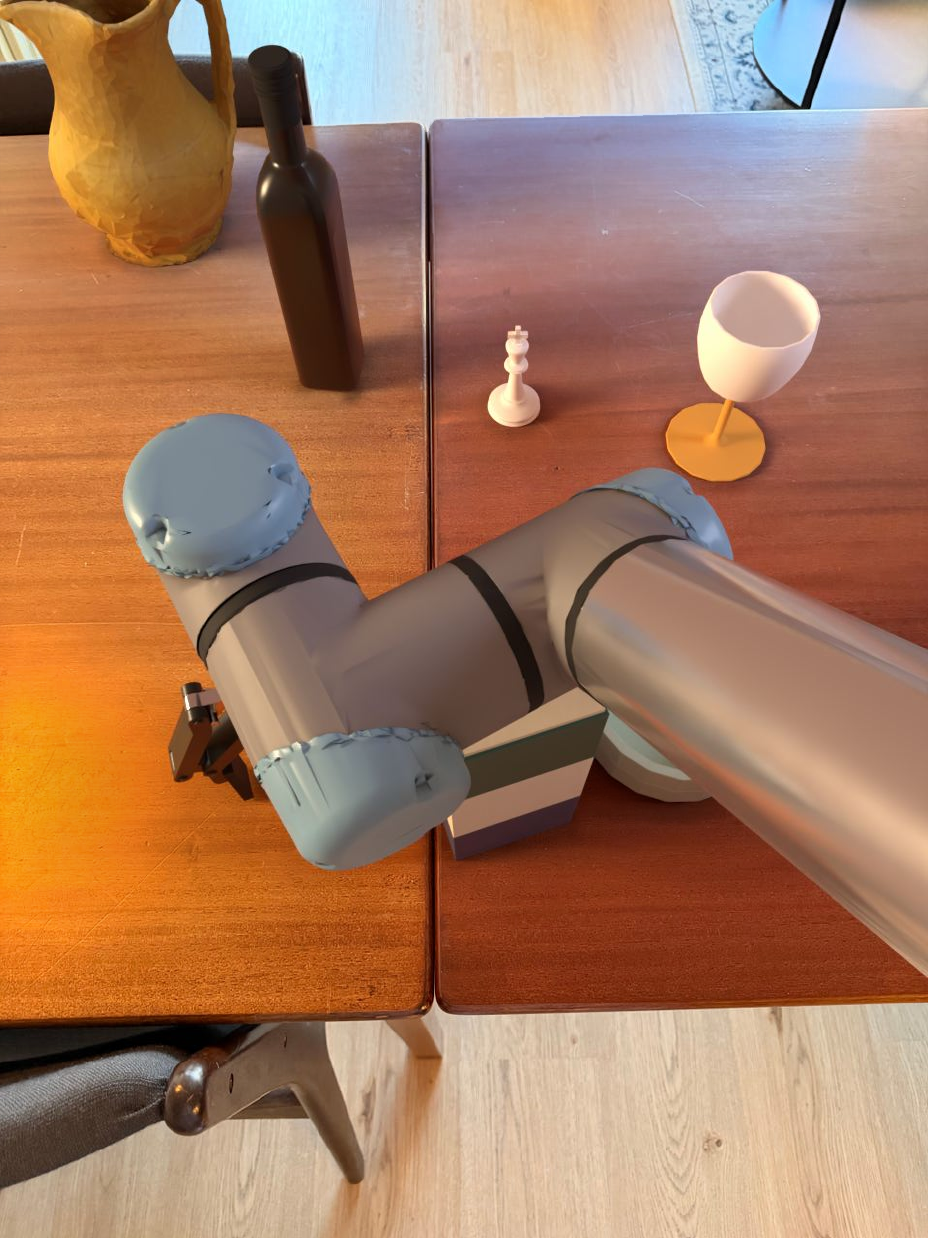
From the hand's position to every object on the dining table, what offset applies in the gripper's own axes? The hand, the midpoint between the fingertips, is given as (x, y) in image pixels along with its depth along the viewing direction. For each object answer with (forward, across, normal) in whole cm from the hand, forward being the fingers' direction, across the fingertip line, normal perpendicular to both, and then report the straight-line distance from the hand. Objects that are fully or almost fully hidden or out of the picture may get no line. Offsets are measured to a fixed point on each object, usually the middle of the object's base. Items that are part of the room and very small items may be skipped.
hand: (331, 755), depth 69 cm
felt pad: (-22, -11, +8) cm, 26 cm away
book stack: (0, -11, +8) cm, 13 cm away
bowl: (0, -26, +5) cm, 27 cm away
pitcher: (+1, +1, -63) cm, 63 cm away
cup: (0, -41, -18) cm, 45 cm away
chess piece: (+1, -25, -28) cm, 37 cm away
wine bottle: (+1, -10, -38) cm, 39 cm away
